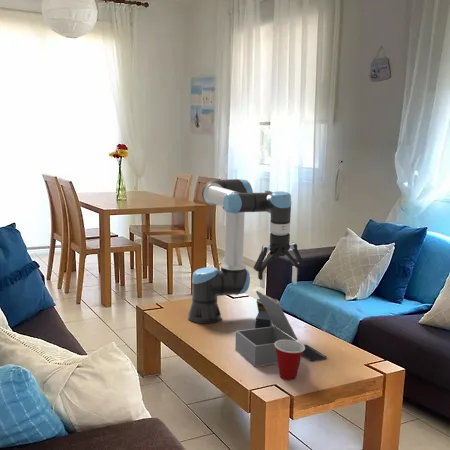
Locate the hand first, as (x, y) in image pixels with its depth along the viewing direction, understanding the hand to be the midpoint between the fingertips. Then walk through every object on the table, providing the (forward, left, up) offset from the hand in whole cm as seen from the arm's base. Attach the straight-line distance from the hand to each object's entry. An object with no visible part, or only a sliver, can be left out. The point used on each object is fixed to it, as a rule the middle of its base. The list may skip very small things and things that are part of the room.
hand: (278, 285), depth 221 cm
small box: (-14, +1, -27) cm, 30 cm away
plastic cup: (+24, -8, -27) cm, 37 cm away
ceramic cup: (-35, +12, -27) cm, 46 cm away
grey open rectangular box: (+3, -7, -27) cm, 28 cm away
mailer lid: (+3, -3, -11) cm, 12 cm away
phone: (+7, +10, -27) cm, 30 cm away
